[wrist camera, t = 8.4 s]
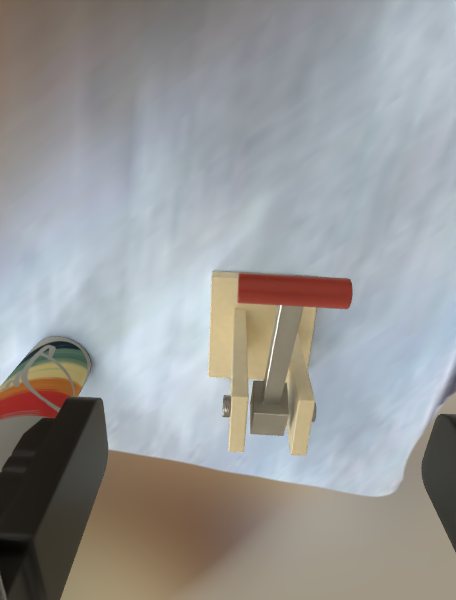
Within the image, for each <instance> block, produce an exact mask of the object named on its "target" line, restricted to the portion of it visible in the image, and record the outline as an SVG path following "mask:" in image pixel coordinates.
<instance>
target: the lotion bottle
mask: <svg viewBox="0 0 456 600" xmlns="http://www.w3.org/2000/svg"><path fill="white" fill-rule="evenodd" d="M90 369H91V362H90V358H89V356H88V354H87V352H86V351H85V350H84V349H83V347H82V346H80V345H79V344H78V343H76V342H75V341H73V340H71V339H68V338H64V337H49V338H46V339H44V340H42V341H40V342H39V343H38V344H37V345H36V346H35V347H34V348H33V349H32V350H31V351H30V352H29V353H28V354H27V356H26V357H25V358H24V359H23V360H22V361H21V363H20V364H19V365H18V366H17V367H16V369H15V370H14V371H13V372H12V373H11V375H10V376H9V377H8V378H7V379H6V380H5V382H4V383H3V384H2V385H1V386H0V473H1V471H2V467H3V466H4V464H5V462H6V461H7V459H8V458H9V456H11V455H12V451H13V450H14V448H15V447H16V445H17V443H18V442H19V440H20V439H21V437H22V435H23V434H24V433H25V432H26V431H27V430H29V429H30V428H31V427H32V426H33V425H35V424H36V423H37V422H38V421H39V420H41V419H42V418H56V416H57V414H58V412H59V410H60V409H61V407H62V405H63V403H64V402H65V400H66V399H67V398H68V397H78V395H79V393H80V391H81V389H82V388H83V386H84V384H85V382H86V380H87V378H88V376H89V373H90Z"/></svg>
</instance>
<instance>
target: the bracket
mask: <svg viewBox="0 0 456 600" xmlns="http://www.w3.org/2000/svg"><path fill="white" fill-rule="evenodd" d="M239 273H240V272H221V271H213V273H212V284H211V314H210V343H209V372H208V376H209V377H220V378H231V385H230V395H224V397H223V417H229V449H228V450H229V451H230V452H244V445H245V434H246V422H247V410H248V398H249V396H248V379H257V380H264V377H265V372H266V366H267V361H268V355H269V349H270V344H271V338H272V332H273V327H274V321H275V315H276V310H277V305H261V304H243V303H238V302H237V291H238V276H239ZM255 274H258V273H255ZM274 275H277V274H274ZM293 276H296V275H293ZM311 277H314V276H311ZM316 310H317V307H303V311H302V315H301V319H300V323H299V327H298V332H297V336H296V340H295V344H294V348H293V352H292V356H291V360H290V364H289V368H288V373H287V377H286V381H285V382H287V389H288V405H289V417H288V421H287V424H286V425H287V432H288V439H289V446H290V452H291V455H303V456H305V455H306V453H307V447H308V441H309V435H310V429H311V423H312V422H314V421H315V418H316V403H315V399H314V395H313V391H312V387H311V383H310V379H309V375H308V371H307V369H308V363H309V356H310V349H311V343H312V336H313V330H314V323H315V317H316Z"/></svg>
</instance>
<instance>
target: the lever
mask: <svg viewBox="0 0 456 600" xmlns="http://www.w3.org/2000/svg"><path fill="white" fill-rule="evenodd" d="M351 300H352V283H351V280H350V279H348V278H330V277H311V276H293V275H274V274H255V273H239V276H238V291H237V302H238V303H243V304H261V305H277V310H276V315H275V321H274V327H273V332H272V338H271V344H270V349H269V355H268V361H267V366H266V372H265V377H264V381H253V388H252V395H251V402H250V434H259V435H278V436H283V435H284V431H285V428H286V424H287V421H288V417H289V405H288V389H287V382H285V381H286V377H287V373H288V368H289V364H290V360H291V356H292V352H293V348H294V344H295V340H296V336H297V332H298V327H299V323H300V319H301V315H302V311H303V307H317V308H336V309H348V308H349V306H350V304H351Z"/></svg>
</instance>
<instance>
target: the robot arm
mask: <svg viewBox="0 0 456 600" xmlns="http://www.w3.org/2000/svg"><path fill="white" fill-rule="evenodd" d="M107 458H108V441H107V432H106V423H105V414H104V405H103V401H102V399H101V398H93V397H68V398H67V399H66V400H65V402H64V403H63V405H62V407H61V409H60V410H59V412H58V414H57V416H56V418H42V419H41V420H39V421H38V422H37V423H36V424H35V425H33V426H32V427H31V428H30V429H29V430H27V431H26V432H25V433H24V434H23V435H22V437H21V439H20V440H19V442H18V443H17V445H16V447H15V448H14V450H13V451H12V455H11V456H9V458H8V459H7V461H6V462H5V464H4V466H3V467H2V471H1V473H0V600H60V598H61V596H62V593H63V590H64V587H65V584H66V581H67V578H68V576H69V573H70V570H71V567H72V564H73V561H74V558H75V556H76V553H77V550H78V547H79V544H80V541H81V538H82V536H83V533H84V530H85V527H86V524H87V521H88V519H89V516H90V513H91V510H92V507H93V504H94V501H95V499H96V496H97V493H98V490H99V487H100V484H101V481H102V479H103V476H104V472H105V469H106V465H107ZM422 478H423V483H424V486H425V488H426V491H427V493H428V495H429V497H430V499H431V501H432V503H433V506H434V508H435V510H436V511H437V514H438V516H439V518H440V520H441V522H442V524H443V526H444V529H445V531H446V533H447V535H448V537H449V539H450V541H451V543H452V545H453V548H454V550H455V552H456V415H455V414H440V415H439V416H438V417H437V418H436V420H435V423H434V426H433V430H432V432H431V436H430V439H429V442H428V445H427V448H426V451H425V454H424V457H423V460H422Z"/></svg>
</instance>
